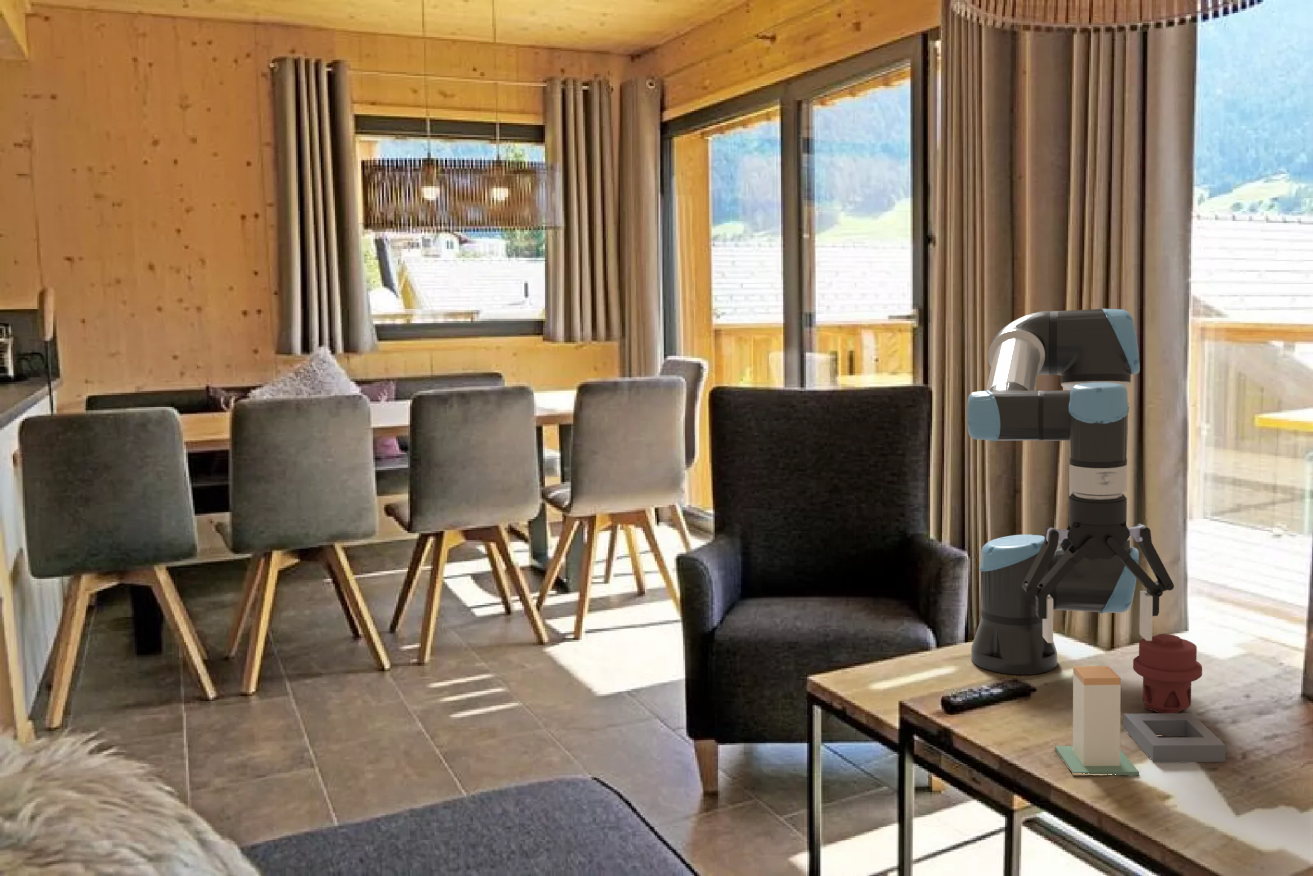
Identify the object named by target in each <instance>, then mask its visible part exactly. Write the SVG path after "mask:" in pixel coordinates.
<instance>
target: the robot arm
mask: <svg viewBox="0 0 1313 876" xmlns="http://www.w3.org/2000/svg"><path fill="white" fill-rule="evenodd" d="M987 356H988V365H989V366H990V372H989V377H988V379H987V385H986V389H985V390H981V391H973V392H970V394H968V397H967V407H966V414H967V415H966V420H967V421H966V422H967V432H968V433H967V434H968V435H969V437H970V438H971V439H973V440H981V441H984V440H985V441H990V442H997V441H998V442H999V441H1001V442H1002V441H1050V442H1051V441H1056V442H1057V441H1058V442H1059V441H1065V442H1067V441H1068V442H1069V464H1068V465H1069V468H1068V469H1069V471H1068V472H1069V473H1068V474H1069V475H1068V488H1069V489H1068V491H1069V492H1068V493H1069V495H1068V526H1067V528H1066V529H1060V528H1054V527H1053V526H1047V527H1046V528H1045V530H1044V531H1045V533H1044V535H1041V534H1040V535H1039V534H1035V535H1034V534H1025V533H1024V534H1013V535H1007V536H1002V537H997V538H994V539H991V540H990V541H988V542H985V544H984V545H983V546H982V548H981V551H980V552H981V553H980V565H979V568H978V569H979V571H980V620H979V624H978V626H977V629H976V633H975V635H974V638H973V642H972V644H971V650H970V651H971V654H970V655H971V656H970V657H971V662H972V663H973V664H975V665H976V666H978V667H980V668H982V669H984V670H987V671H991V672H994V673H995V672H996V673H1000V674H1008V675H1036V674H1042V673H1043V674H1044V673H1046V672H1050V671H1052V670H1054V669H1055V668H1056V667H1057V666H1058V651H1057V648H1056V644H1055V641H1054V610H1057V611H1071V612H1072V611H1074V612H1091V613H1092V612H1093V613H1099V614H1102V615H1103V614H1105V613H1109V614H1111V613H1113V614H1116V613H1117V614H1121V613H1125V612H1127V611H1128V610H1129V609H1131V607H1132V603H1133V600H1134V596H1135V591H1136V584H1137V580H1138V581H1139V583H1140V584H1141V585H1142V586H1143V587H1144V588H1145V589H1146V590H1140V591H1139V636H1141V638H1142V639H1143V638H1144V639H1145V640H1146V641H1152V636H1153V617H1158V616H1159V614H1160V597H1161V596H1163V593H1164V592H1166V591H1172V590H1173V589H1174V588H1175V585H1174V582H1173V581H1172V578H1171V577H1170V575H1169V573H1168V571H1167V569H1166V567H1165V565H1164V563H1163V561H1162V559H1161V557H1160V555H1159V554H1158V552H1157V550H1156V548H1155V547H1154V544H1153V543H1152V533H1151V532H1152V531H1151V529H1150V528H1149V527H1148V526H1146V525H1145V524H1143V523H1137V524H1136V525H1135V526H1132V527H1131V526H1130V527H1128V525H1127V521H1128V519H1127V513H1128V512H1127V510H1128V507H1127V506H1128V504H1127V503H1128V498H1127V496H1126V495H1125V494H1124V493H1126V492H1127V489H1128V486H1127V485H1128V457H1127V454H1128V453H1127V452H1128V429H1129V427H1128V426H1129V413H1130V412H1129V411H1130V406H1129V401H1128V399H1129V398H1128V397H1129V395H1128V389H1127V388H1128V387H1129V386H1131V382H1132V381H1131V380H1132V379H1131V378H1132V377H1131V376H1134V375H1137V374H1138V375H1139V373H1140V370H1141V369H1140V368H1141V366H1140V364H1141V363H1140V353H1139V346H1138V338H1137V333H1136V327H1135V322H1134V318H1133V316H1132V314H1131V313H1130V312H1129V311H1127V310H1126V309H1122V308H1121V309H1120V308H1119V309H1117V308H1115V309H1114V308H1095V309H1075V310H1074V309H1073V310H1072V309H1070V310H1054V311H1053V310H1051V311H1050V310H1043V311H1042V310H1041V311H1038V312H1037V311H1036V312H1033V313H1029V314H1026V315H1024V316H1021V317H1019V318H1017V319H1015V320H1013V321H1012V322H1010V323H1008V324H1007V325H1005V326H1004V327H1003V328H1001V329H1000V330H999V331H998V333H997V334H996V335H995V336H994V337H993V339H992V341H991V343H990V346H989V349H988V355H987ZM1038 376H1060V386H1061V387H1062V388H1063V389H1064V390H1037V379H1038ZM1131 538H1132V539H1133V540H1134V541H1135V542H1137V544H1138V546H1139V548H1140V549H1141V552H1142V554H1143V555H1144V557H1145V559H1146V561H1147V563H1148V565H1149V567H1150V569H1151V571H1152V573H1153V574H1154V576H1155V578H1156V580H1155V581H1154V580H1153V579H1152V578H1151V577H1150V575H1148V573H1146V572H1145V571H1144V569H1143V568H1142V567H1141V566H1140V565H1139V559H1140V558H1139V557H1140V551H1139V550H1138V548H1136V547H1134V546H1131Z"/></svg>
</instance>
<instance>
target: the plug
mask: <svg viewBox="0 0 1313 876" xmlns="http://www.w3.org/2000/svg"><path fill="white" fill-rule="evenodd" d="M1072 673H1073V675H1072V678H1073V682H1072V683H1073V684H1072V693H1073V695H1072V746H1073V752H1074V754H1075V755H1076V756H1077V758H1078V759H1079V761H1080V762H1081V763H1082V765H1083V766H1120V750H1121V687H1122V686H1121V685H1122V684H1121V683H1122V682H1121V677H1120V676H1119V674H1117V673H1116V672H1115V671H1114V670H1113V668H1111V667H1110V666H1109V665H1089V666H1088V665H1086V666H1085V665H1083V666H1082V665H1081V666H1077V665H1076V666H1073V669H1072Z"/></svg>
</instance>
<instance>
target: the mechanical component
mask: <svg viewBox="0 0 1313 876" xmlns="http://www.w3.org/2000/svg"><path fill="white" fill-rule="evenodd" d="M1197 649H1198V647H1197V645H1196V644H1195V643H1194V642H1191V641H1189V640H1188V639H1184V638H1181V637H1180V636H1178V635H1176V634H1175V635H1174V634H1171V633H1170V634H1169V633H1162V634H1161V633H1160V634H1155V635H1152V641H1146V640H1145V639H1144V638H1143V637H1142V638H1141V639H1140V640H1139V641H1138V655H1137V656H1136V657H1134V658H1133V659H1132V668H1133V671H1134V672H1135V673H1136V674H1138V675H1139V676H1141V677H1142V700H1143V702H1144V708H1146V709H1147V710H1149V709H1151V710H1150V711H1154V712H1155V713H1180V712H1181V711H1183V710H1185V709H1188V708H1190V707H1191V705H1192V704H1191V703H1192V682H1195V681H1197V680H1198V679H1200V678H1201V677H1202V676H1203V666H1202V664H1201V663H1200V662H1199V661H1197V659H1198V658H1197V656H1198V655H1197V652H1198V650H1197Z"/></svg>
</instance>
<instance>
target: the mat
mask: <svg viewBox="0 0 1313 876" xmlns="http://www.w3.org/2000/svg"><path fill="white" fill-rule="evenodd" d="M1055 749H1056V751H1057V752H1058V753H1059V755H1060V756H1061V758H1062V759H1063V760H1064V762H1066V764H1067V766H1068V767H1069V768H1070V769H1071V771H1072V772H1073V773H1082V774H1083V773H1085V774H1088V773H1089V774H1107V775H1108V774H1112V775H1115V774H1116V775H1139V776H1140V771H1139V770H1138V768H1137V767H1136V766H1135V765H1134V764H1133V763H1132V761H1131V760H1130V759H1129V758H1128V757H1127V756H1126V754H1125V753H1124V752H1123V751H1122V750H1121V749H1120V766H1083V765H1082V763H1081V762H1080V761H1079V759H1078V758H1077V756H1076V755H1075V754H1074V752H1073V745H1054V750H1055ZM1056 751H1055V752H1056ZM1057 752H1056V753H1057ZM1059 755H1058V756H1059ZM1060 756H1059V757H1060ZM1061 758H1060V759H1061ZM1062 759H1061V760H1062ZM1064 762H1063V763H1064Z"/></svg>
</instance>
